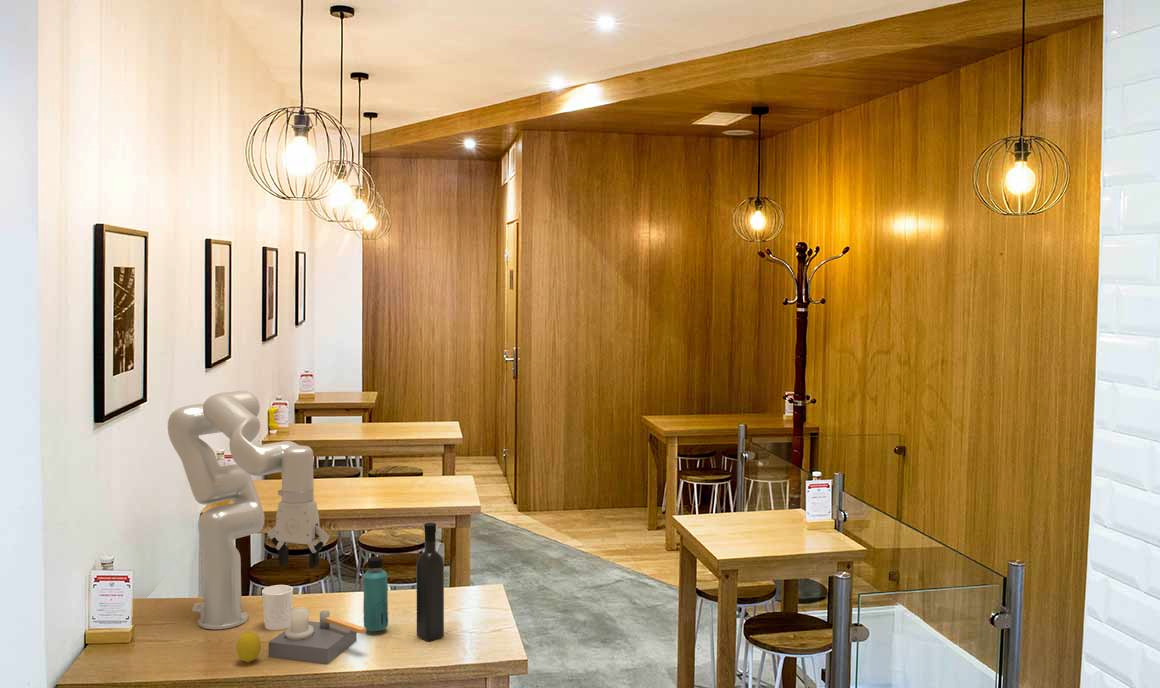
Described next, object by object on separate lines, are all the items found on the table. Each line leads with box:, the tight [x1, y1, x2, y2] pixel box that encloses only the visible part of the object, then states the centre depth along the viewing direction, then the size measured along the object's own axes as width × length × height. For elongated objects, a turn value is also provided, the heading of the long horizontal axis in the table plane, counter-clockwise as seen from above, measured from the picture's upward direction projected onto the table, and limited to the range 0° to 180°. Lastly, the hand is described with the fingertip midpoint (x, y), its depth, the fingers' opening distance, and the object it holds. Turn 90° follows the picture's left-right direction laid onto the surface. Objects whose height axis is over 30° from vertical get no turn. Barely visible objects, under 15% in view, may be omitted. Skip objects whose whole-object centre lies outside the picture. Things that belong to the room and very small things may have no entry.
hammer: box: [319, 610, 367, 635], centre depth 237 cm, size 16×2×4 cm, turn 55°
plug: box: [284, 606, 314, 640], centre depth 236 cm, size 7×7×10 cm
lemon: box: [236, 630, 262, 664], centre depth 228 cm, size 6×6×8 cm
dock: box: [268, 620, 358, 665], centre depth 237 cm, size 16×15×4 cm
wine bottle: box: [416, 522, 445, 642], centre depth 245 cm, size 6×6×30 cm
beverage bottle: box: [362, 556, 389, 632], centre depth 248 cm, size 6×7×20 cm
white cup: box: [261, 584, 294, 631], centre depth 252 cm, size 8×8×10 cm
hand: (298, 565), depth 234 cm, fingers open, 7 cm apart
